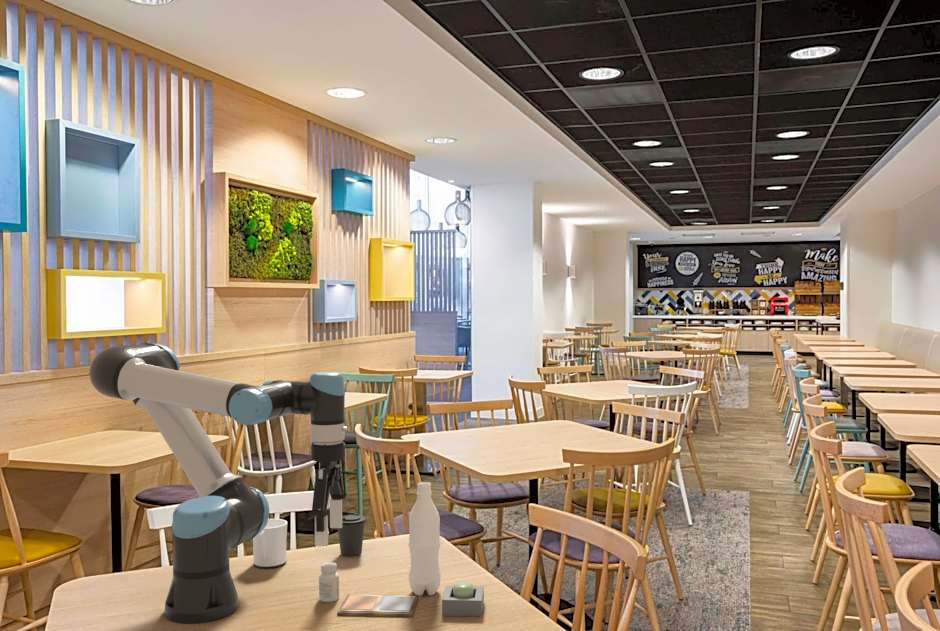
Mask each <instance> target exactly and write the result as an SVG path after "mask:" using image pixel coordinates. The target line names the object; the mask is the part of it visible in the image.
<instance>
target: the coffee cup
mask: <svg viewBox="0 0 940 631" xmlns="http://www.w3.org/2000/svg"><path fill="white" fill-rule="evenodd" d="M366 522H367V519H366V517H365V516H364V515H358V514H344V515H342V528H337V532H338V541H339V550H340V555H341V556H342V557H344V558H356V557H359V556H361V555H362V552H363V551H362V550H363V541H364V531H365V523H366Z"/></svg>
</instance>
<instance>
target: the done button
mask: <svg viewBox="0 0 940 631" xmlns="http://www.w3.org/2000/svg"><path fill="white" fill-rule="evenodd" d="M452 586H453V597H454V598H473V586H474V584H473V583H472V582H471V583H470V582H467V581H465V582H464V581H461V582H456V583H454V584H453V585H452Z"/></svg>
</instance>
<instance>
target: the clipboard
mask: <svg viewBox="0 0 940 631" xmlns="http://www.w3.org/2000/svg"><path fill="white" fill-rule="evenodd" d="M418 601H419V595H387V594H386V595H385V594H383V595H382V594H380V595H379V594H376V595H375V594H347V596H346V597H345V599H344V600H343V602H342V604H341V605H340V607H339V609H338V610H337V613H336V615H337V616H350V617H351V616H352V617H353V616H354V617H355V616H358V617H359V616H360V617H361V616H363V617H364V616H365V617H393V618H394V617H396V618H397V617H399V618H400V617H402V618H403V617H405V618H412V617H413V615H414V612H415V610H416V606H417V604H418Z"/></svg>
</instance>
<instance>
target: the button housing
mask: <svg viewBox="0 0 940 631" xmlns="http://www.w3.org/2000/svg"><path fill="white" fill-rule="evenodd" d="M484 588H485V587H484V586H476V585H475V586H474V585H473V598H454V597H453V585H445V587H444V591H443V595H442V598H441V616H442V617H475V616H480V617H479V618H481V617H483V609H484V603H485V602H484V600H485V599H484V597H485V596H484V595H485V589H484Z"/></svg>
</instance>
